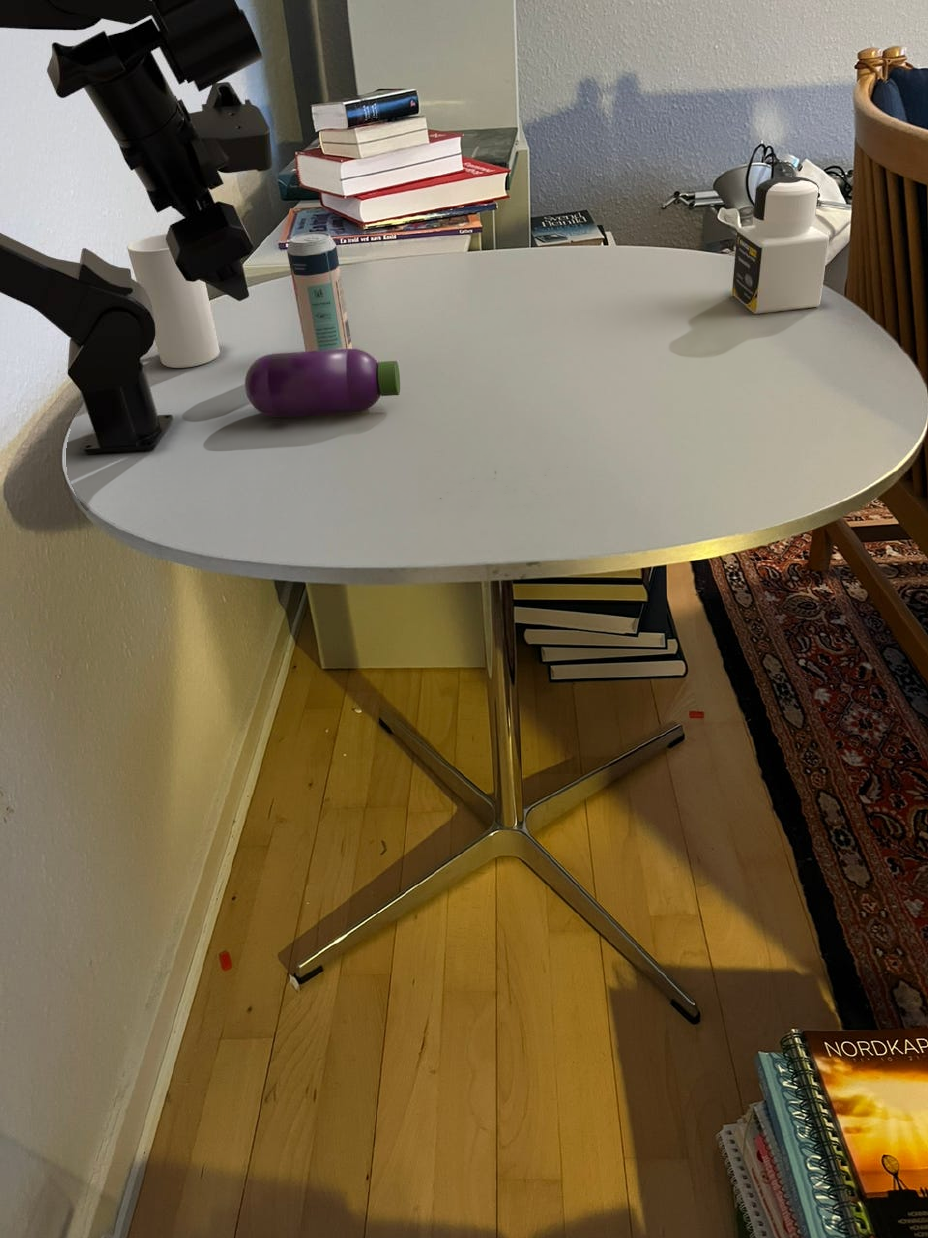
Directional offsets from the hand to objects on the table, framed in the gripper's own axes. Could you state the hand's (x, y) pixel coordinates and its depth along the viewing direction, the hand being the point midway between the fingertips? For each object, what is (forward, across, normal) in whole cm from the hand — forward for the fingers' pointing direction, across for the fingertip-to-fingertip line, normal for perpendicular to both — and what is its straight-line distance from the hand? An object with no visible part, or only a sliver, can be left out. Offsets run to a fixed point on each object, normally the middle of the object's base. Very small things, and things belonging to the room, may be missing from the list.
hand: (230, 266), depth 87 cm
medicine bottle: (+24, -13, -50) cm, 57 cm away
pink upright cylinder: (+14, -2, -4) cm, 15 cm away
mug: (+14, +8, +9) cm, 18 cm away
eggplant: (+7, -14, -2) cm, 16 cm away
